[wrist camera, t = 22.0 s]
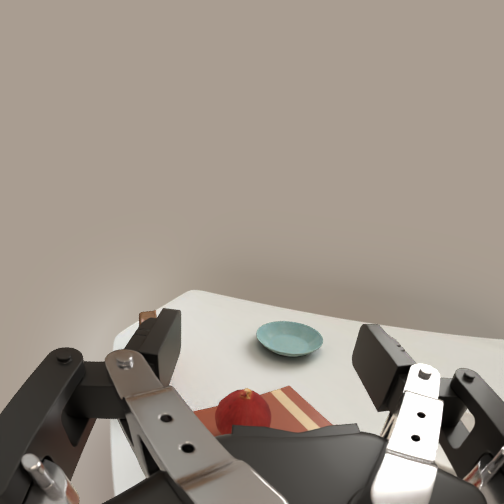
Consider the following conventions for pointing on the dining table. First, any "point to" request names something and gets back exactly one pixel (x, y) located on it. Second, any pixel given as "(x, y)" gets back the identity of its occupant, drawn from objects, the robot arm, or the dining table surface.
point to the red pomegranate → (242, 411)
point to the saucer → (289, 338)
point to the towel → (278, 413)
